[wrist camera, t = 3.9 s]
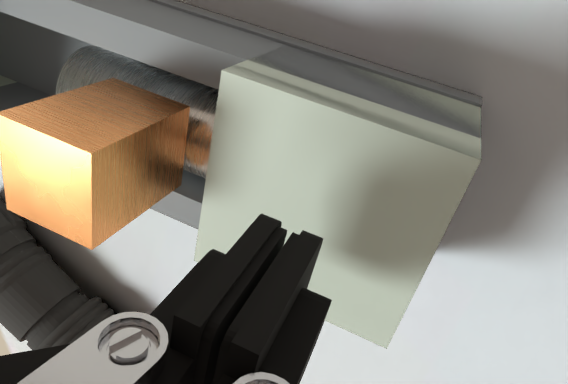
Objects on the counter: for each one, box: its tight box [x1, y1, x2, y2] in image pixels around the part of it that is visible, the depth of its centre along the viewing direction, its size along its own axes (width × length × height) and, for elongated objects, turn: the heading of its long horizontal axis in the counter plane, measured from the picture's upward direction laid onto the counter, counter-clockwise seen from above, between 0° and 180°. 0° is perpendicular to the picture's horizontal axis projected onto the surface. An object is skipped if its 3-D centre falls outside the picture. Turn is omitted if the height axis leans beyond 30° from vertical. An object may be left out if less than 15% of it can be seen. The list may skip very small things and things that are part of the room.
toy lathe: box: [0, 0, 482, 349], centre depth 16 cm, size 24×7×8 cm, turn 77°
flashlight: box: [0, 200, 114, 350], centre depth 27 cm, size 15×5×5 cm, turn 50°
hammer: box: [0, 46, 219, 250], centre depth 14 cm, size 14×3×8 cm, turn 77°
